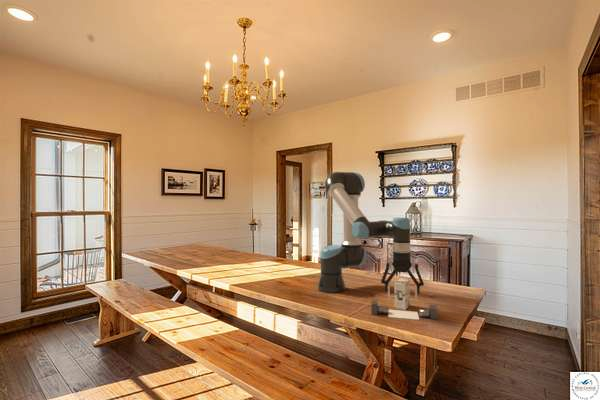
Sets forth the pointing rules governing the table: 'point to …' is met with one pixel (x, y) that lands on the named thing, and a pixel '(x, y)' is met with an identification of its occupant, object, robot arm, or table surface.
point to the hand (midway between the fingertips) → (402, 299)
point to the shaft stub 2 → (429, 312)
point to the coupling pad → (403, 314)
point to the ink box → (402, 294)
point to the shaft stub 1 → (378, 308)
